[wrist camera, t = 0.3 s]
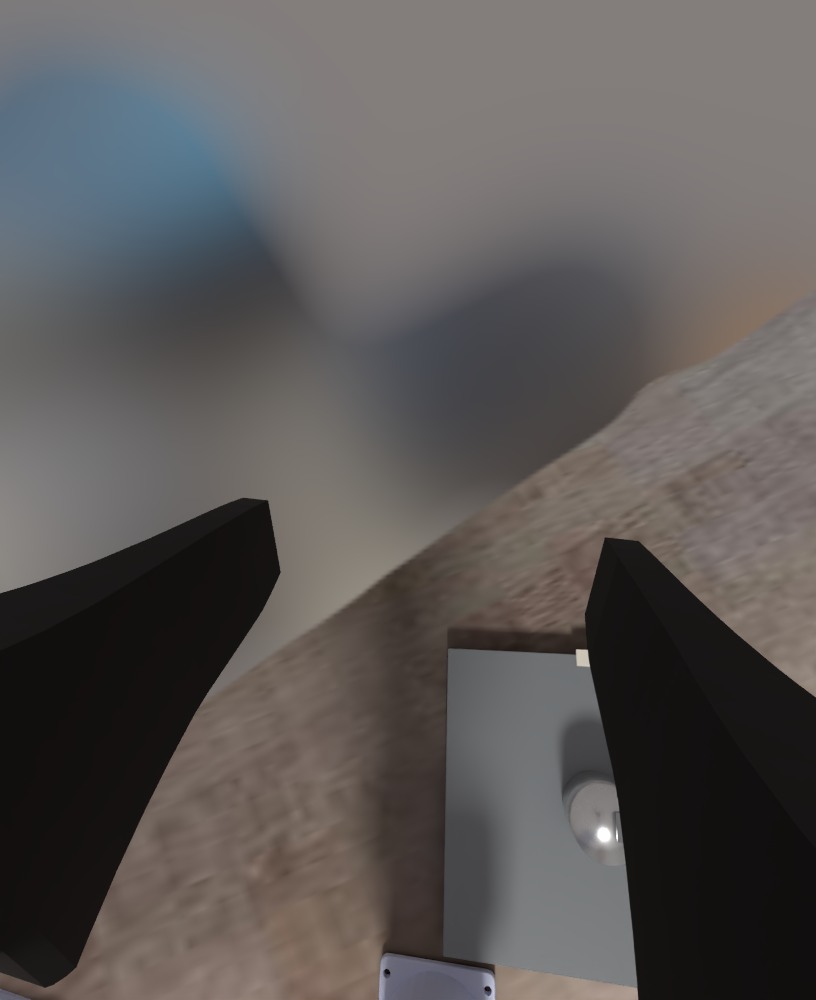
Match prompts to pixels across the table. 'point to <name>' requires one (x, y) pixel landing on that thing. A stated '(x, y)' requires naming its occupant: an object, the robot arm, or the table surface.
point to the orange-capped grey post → (595, 816)
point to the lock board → (527, 820)
